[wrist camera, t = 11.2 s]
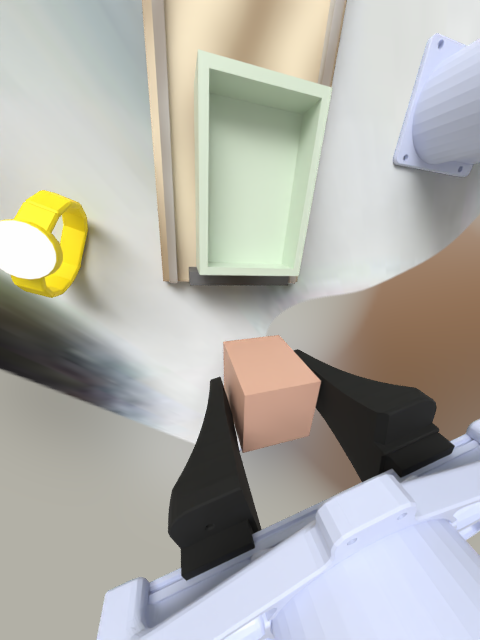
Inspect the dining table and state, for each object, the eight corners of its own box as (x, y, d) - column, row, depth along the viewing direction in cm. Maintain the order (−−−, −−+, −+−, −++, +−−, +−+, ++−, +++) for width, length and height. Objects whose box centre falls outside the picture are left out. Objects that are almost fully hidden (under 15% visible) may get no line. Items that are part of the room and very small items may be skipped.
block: (279, 335, 15) (321, 381, 11) (274, 379, 17) (309, 435, 12) (223, 341, 14) (244, 395, 10) (224, 388, 16) (242, 452, 11)
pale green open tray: (294, 120, 15) (332, 87, 11) (275, 265, 19) (298, 276, 15) (192, 97, 13) (197, 49, 9) (194, 263, 17) (199, 274, 13)
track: (370, -194, 11) (430, -322, 9) (291, 279, 21) (308, 287, 19) (114, -382, 8) (84, -676, 5) (164, 278, 18) (161, 287, 15)
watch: (88, 287, 17) (48, 317, 12) (45, 275, 16) (-21, 302, 11) (104, 210, 15) (65, 204, 10) (56, 190, 14) (-15, 172, 9)
